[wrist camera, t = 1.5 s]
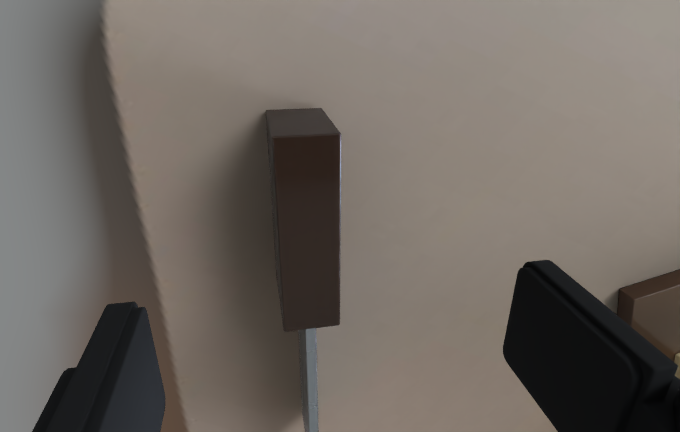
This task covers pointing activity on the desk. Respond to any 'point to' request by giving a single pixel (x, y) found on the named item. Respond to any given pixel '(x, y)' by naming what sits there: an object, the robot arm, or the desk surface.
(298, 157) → the knife
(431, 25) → the desk surface
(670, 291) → the cake board
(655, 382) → the robot arm
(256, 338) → the desk surface
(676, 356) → the cake
